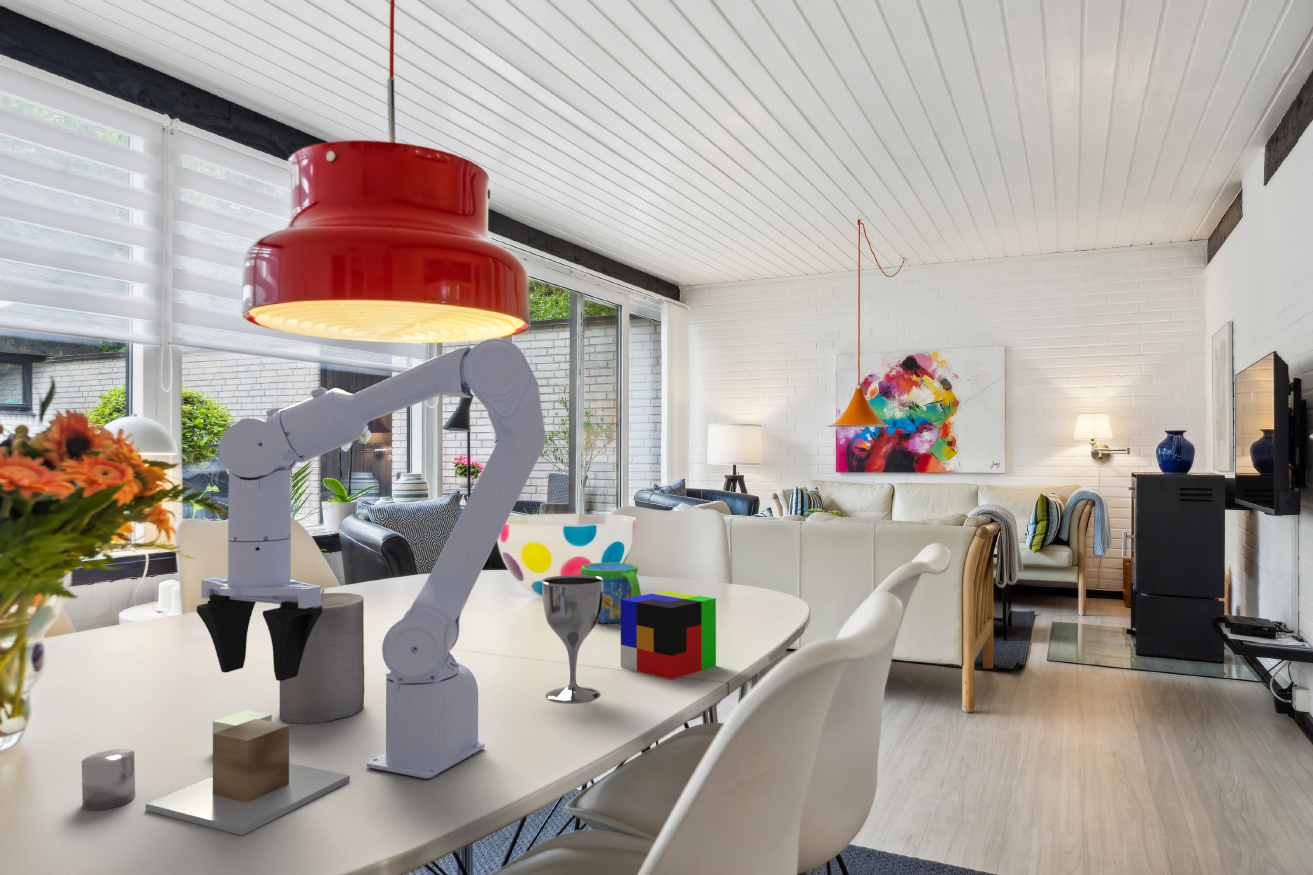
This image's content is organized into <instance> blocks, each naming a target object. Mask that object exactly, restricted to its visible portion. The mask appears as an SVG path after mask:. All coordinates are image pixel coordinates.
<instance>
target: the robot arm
mask: <svg viewBox="0 0 1313 875" xmlns="http://www.w3.org/2000/svg"><path fill="white" fill-rule="evenodd" d="M471 391H472V392H471ZM472 393H473V394H474V396H475V397H476V399H478V400H479V402H480V403H481V404H482V406H484V408H485V409H486V411H487V415H488V417H489V420H490V422H491V425H492V427H493V430H494V433H495V435H496V439H497V441H496V444H495V446H494V448H493V449H492V453H491V455H490V456H489V458H488V460H487V462H486V464H485V466H484V468H483V470H482V471H481V474H480V476H479V478H478V479H477V482H476V484H475V486H474V488H473V489H472V491H471V494H470V495H469V497H468V499H467V501H466V503H465V505H464V507H463V509H462V511H461V513H460V515H459V517H458V519H457V521H456V523H455V525H454V527H453V529H452V531H451V532H450V534H449V537H448V538H447V541H446V542H445V543H444V544H445V545H444V546H443V548H442V551H441V552H440V554H439V556H438V558H437V559H436V562H435V564H434V565H433V568H432V570H431V571H430V574H429V576H428V578H427V580H425V583H424V584H423V585H422V588H421V589H420V591H419V592H418V594H417V596H416V598H415V599H414V601H413V602H412V605H411V606H410V608H409V609H408V610H407V611H406V612H405V613H404V615H403V616H402V618H401V619H400V620H398V621H397V622H395V623H394V624H393V625H392V626H391V627H390V628H389V629H388V631H386V634H385V636H384V638H383V642H382V646H381V651H382V652H381V653H382V659H383V662H384V664H385V666H386V667H387V670H386V672H385V676H386V678H385V679H386V683H385V687H386V688H385V693H386V695H385V752H384V753H382V754H380V755H378V756H376V757H373V758H372V759H370V760H368V761H366V767H367V768H370V769H375V770H380V771H386V772H391V773H394V774H395V773H396V774H400V775H406V776H410V777H411V776H412V777H416V778H421V779H431V778H434V777H435V776H436V775H437V776H438V774H440V773H441V772H444V771H446V770H448V769H449V768H451V767H453V766H454V765H456V764H459V762H461V761H463V760H465V759H466V758H469V757H471V756H472V755H473V754H476V753H477V752H479V751H481V750H482V749H485V747H486V745H485V742H483V741H479V687H478V684H477V680H476V677H475V676H474V674H473V672H472V671H471V670H470V669H469V668H468V667H466V666H465V665H463V664H461V663H459V662H457V661H456V659H455V657H454V656H453V654H451V652H450V651H451V650H452V649H453V648H454V646H455V645H456V643H457V641H458V639H459V636H460V618H461V614H462V612H463V610H464V608H465V605H466V604H467V602H468V600H469V597H470V594H471V592H472V590H473V588H474V587H475V584H476V582H477V580H478V578H479V577H480V574H481V573H482V570H483V569H484V566H485V564H486V563H487V562H488V559H489V557H490V555H491V552H492V551H493V548H494V547H495V545H496V542H497V541H498V539H499V537H500V534H501V533H502V531H503V530H504V528H505V525H506V524H507V521H508V519H509V518H510V515H511V513H512V511H513V509H514V508H515V505H516V503H517V502H518V500H519V497H520V495H521V494H522V491H523V490H524V487H525V486H526V483H527V482H528V480H529V478H530V475H531V474H532V471H533V470H534V467H535V466H536V464H537V462H538V460H539V458H540V456H541V454H542V452H543V450H544V447H545V444H546V441H547V436H546V430H545V422H544V414H543V409H542V408H543V407H542V400H541V394H540V386H539V383H538V380H537V379H536V376H535V374H534V372H533V370H532V368H531V366H530V364H529V362H528V360H527V358H526V356H525V355H524V353H523V351H522V350H521V348H519V347H518V346H517V344H515V343H513V342H511V341H509V340H507V339H503V338H495V337H493V338H488V339H485V340H482V341H480V342H478V343H477V344H475V345H474V346H472V347H471V346H470V345H467V346H463V347H459V348H458V347H457V348H455V349H453V350H450V351H448V352H445V353H443V354H440V355H438V356H435V357H433V358H431V359H429V360H426V361H424V362H422V363H419V364H417V365H415V366H413V367H410V368H408V369H406V370H404V371H402V372H400V373H398V374H395V375H393V376H390V377H389V378H386V379H384V380H382V381H380V382H378V383H375V384H373V385H371V386H369V387H367V388H365V389H362V390H359V391H357V392H356V393H350V392H347V391H346V390H344V389H341V388H339V387H338V388H337V387H334V388H332V389H329V390H328V389H327V388H326V387H323V386H321V387H317V388H315V389H312V390H311V391H310V395H311V397H310V398H307V399H305V400H303V401H300V402H298V403H296V404H292V405H290V406H287V407H285V408H282V409H280V408H278V407H273V408H269V409H267V410H266V412H265V414H266V418H265V419H264V420H263V419H260V418H255V417H254V418H253V417H246V418H242V419H240V420H238V421H237V422H236V423H235V424H233V425H232V426H230V427H229V428H227V430H226V431H224V433H223V435H222V436H221V439H220V441H219V446H218V454H219V457H220V460H221V462H222V464H223V465H224V467H225V469H227V470H228V494H227V495H228V496H227V498H228V499H227V500H228V504H227V505H228V507H227V509H228V510H227V512H228V513H227V515H228V516H227V517H228V518H227V520H228V522H227V525H228V526H227V527H228V528H227V529H228V530H227V533H228V534H227V535H228V536H227V538H228V539H227V540H228V541H227V577H224V576H223V577H220V576H219V577H211V578H205V579H201V585H200V586H201V590H200V591H201V593H200V594H201V599H205V600H206V599H208V600H207V603H203V604H198V605H197V606H196V613H197V615H198V616H199V618H200V619H201V620H202V622H203V623H204V625H205V627H206V630H207V631H208V632H209V635H210V637H211V640H212V643H213V646H214V649H215V653H216V657H217V661H218V663H219V667H220V670H221V673H226V674H227V673H230V672H233V671H237V670H241V669H243V668H244V666H245V662H246V657H247V656H246V654H247V639H248V631H249V626H250V623H251V622H250V621H251V619H252V618H251V617H252V613H253V611H254V609H255V606H256V603H264V604H274V605H280V604H281V608H280V607H276V608H271V609H267V610H263V611H262V616H263V618H264V621H265V624H266V626H267V629H268V633H269V635H270V636H269V637H270V640H271V646H272V656H273V657H272V658H273V672H274V678H275V680H276V681H278V682H280V681H283V680H287V679H290V678H293V677H296V676H297V675H298V671H299V667H300V663H301V659H302V656H303V652H304V649H305V646H306V643H307V640H308V638H309V635H310V633H311V631H312V629H313V627H314V625H315V623H316V621H317V620H318V618H319V617H320V615H321V613H322V605H321V594H322V587H321V585H317V584H316V585H314V584H310V583H306V582H301V581H297V580H294V579H291V572H292V570H291V568H292V567H291V563H292V561H291V559H292V558H291V557H292V554H291V553H292V552H291V551H292V549H291V548H292V545H291V544H292V541H291V540H292V539H291V538H292V537H291V536H292V534H291V533H292V528H291V526H292V524H291V523H292V522H291V521H292V520H291V518H292V510H291V509H292V506H291V505H292V503H291V502H292V492H291V471H292V470H293V468H295V466H296V465H297V463H305V462H307V461H311V460H312V459H314V458H318V457H319V456H322V455H325V454H326V453H328V452H331V451H333V450H336V449H338V448H339V449H340V448H341V447H343V446H345V445H348V444H351V443H353V442H356V441H357V440H360V439H361V438H362V436H363V434H364V430H365V428H366V426H368V425H367V424H368V423H369V422H372V421H374V420H376V419H379V418H382V417H384V416H387V415H390V414H393V413H395V412H399V411H401V410H403V409H406V408H409V407H411V406H414V405H416V404H417V405H418V404H419V403H423V402H426V401H427V400H431V399H433V398H435V397H439V396H449V397H456V398H466V399H471V398H472Z"/></svg>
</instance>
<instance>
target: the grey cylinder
mask: <svg viewBox="0 0 1313 875" xmlns="http://www.w3.org/2000/svg"><path fill="white" fill-rule="evenodd" d="M135 761H136V760H135V750H133V749H130V748H119V749H118V748H117V749H110V750H109V749H108V750H105V751H101V752H97V753H95V754H91V755H89V756H87V757H85V758H83V759H82V761H81V792H82V793H81V796H82V809H83V810H85V811H89V812H96V811H97V812H99V811H105V810H109V809H110V810H111V809H114V808H117V807H120V806H124V805H126V804H128V803H129V802H132V801H133V800H134V799H135V798H136V768H135V767H136V765H135Z"/></svg>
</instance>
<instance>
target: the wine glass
mask: <svg viewBox="0 0 1313 875" xmlns="http://www.w3.org/2000/svg"><path fill="white" fill-rule="evenodd" d="M541 584H542V585H541V586H542V587H541V588H542V589H541V590H542V594H541V595H542V604H543V605H542V606H543V611H544V614H545V619H546V622H547V625H549V627H550V628H551V630H552V631H553V632H554V633H555V635H556V636H557V637H558V638H559V640H561V642H562V643H563V645H564V647H565V649H566V651H567V655H568V664H569V684H568V685H567V686H564V687H559V688H554V689H552V690H549V691H547V693H546V694H545V698H546V699H547V700H549V701H551V702H555V703H561V704H579V703H585V702H587V703H588V702H589V701H594V700H596V699H598V698H599V697H600V696H601V692H600V691H599V690H597V689H595V688H593V687H588V686H579V685H578V684H577V663H578V662H577V661H578V655H579V650H580V648H581V646H582V644H583V643H584V641H585V639H587V637H588V636H589V635H590V634H591V632H592V631H593V630H594V629H595V627H596V626H597V624H598V623H599V622H598V620H599V617H600V613H601V608H602V601H603V578H600V577H596V576H588V575H582V574H570V575H556V576H555V575H554V576H550V577H549V576H548V577H545V578H543V579H542V582H541Z"/></svg>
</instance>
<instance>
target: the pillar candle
mask: <svg viewBox="0 0 1313 875" xmlns="http://www.w3.org/2000/svg"><path fill="white" fill-rule="evenodd" d="M321 605H322V613H321V615H320V617H319V618H318V620H317V621H316V623H315V625H314V627H313V629H312V631H311V633H310V635H309V638H308V640H307V643H306V646H305V649H304V652H303V656H302V659H301V663H300V667H299V671H298V675H297V676H296V677H293V678H290V679H287V680H283V681H279V718H280V719H281V720H282V721H284V722H287V723H291V724H299V725H300V724H304V725H306V724H307V725H311V724H324V723H326V722H327V723H328V722H332V721H335V720H338V719H343V718H347V717H351V716H354V715H357V714H358V713H359V712H360V711H362V710H363V708H364V704H365V644H364V642H365V641H364V640H365V639H364V638H365V634H364V632H365V630H364V626H365V625H364V624H365V623H364V619H365V618H364V609H365V608H364V597H363V596H362V595H360V594H357V593H352V592H351V593H348V592H328V593H327V592H326V593H325V589H324V588H321ZM279 608H281V604H279Z"/></svg>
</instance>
